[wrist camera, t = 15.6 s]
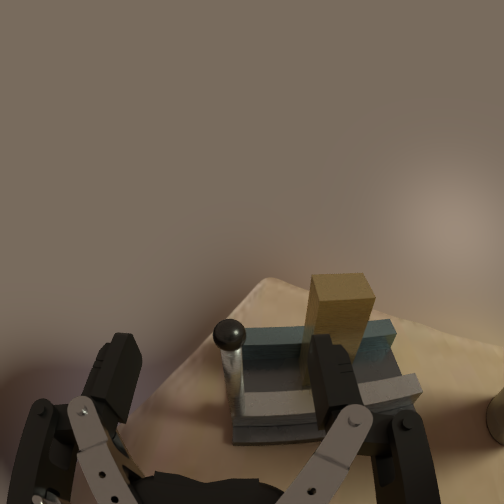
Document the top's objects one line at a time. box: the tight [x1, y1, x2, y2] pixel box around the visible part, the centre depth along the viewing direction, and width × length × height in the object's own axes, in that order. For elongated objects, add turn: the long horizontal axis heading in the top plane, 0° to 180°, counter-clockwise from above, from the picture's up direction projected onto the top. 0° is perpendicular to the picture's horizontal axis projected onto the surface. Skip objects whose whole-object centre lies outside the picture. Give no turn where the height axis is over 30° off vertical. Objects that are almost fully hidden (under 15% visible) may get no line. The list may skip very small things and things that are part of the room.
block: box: [299, 273, 376, 386], centre depth 29 cm, size 4×6×14 cm
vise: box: [233, 319, 416, 446], centre depth 31 cm, size 16×22×4 cm
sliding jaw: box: [213, 319, 423, 426], centre depth 24 cm, size 4×22×16 cm, turn 91°
